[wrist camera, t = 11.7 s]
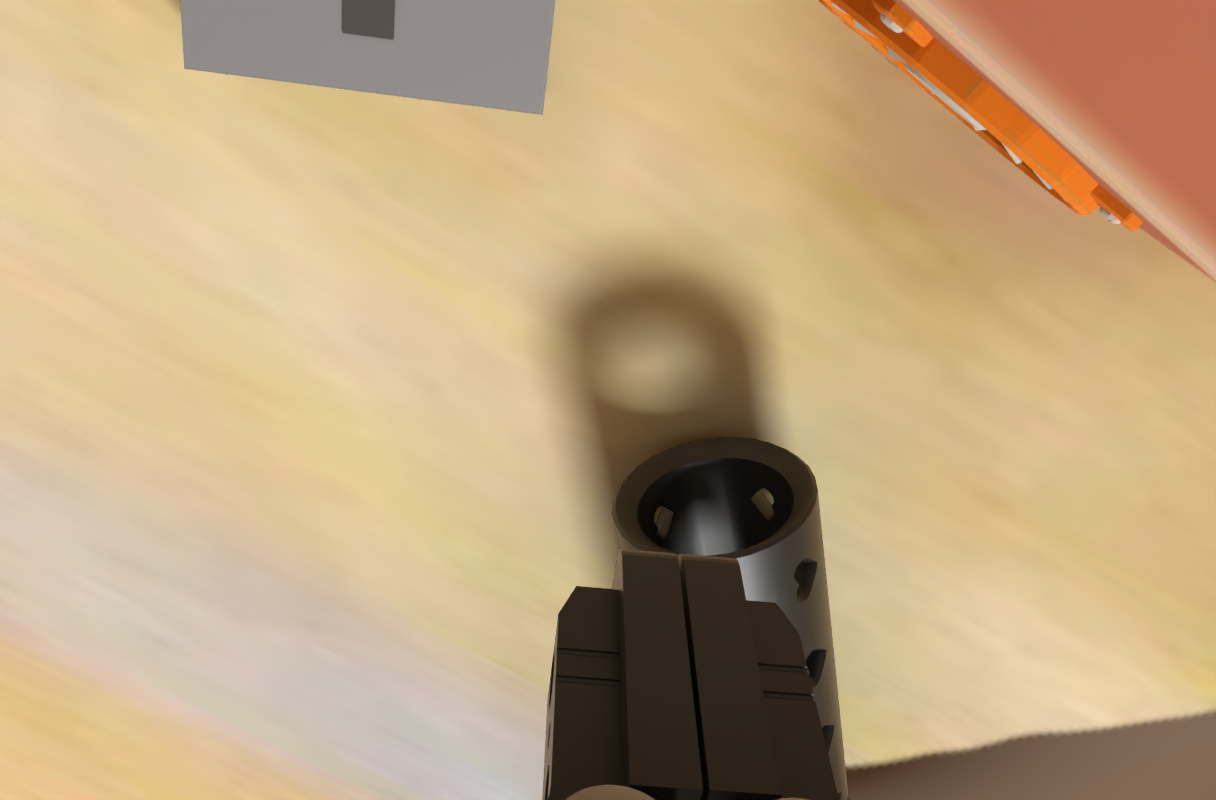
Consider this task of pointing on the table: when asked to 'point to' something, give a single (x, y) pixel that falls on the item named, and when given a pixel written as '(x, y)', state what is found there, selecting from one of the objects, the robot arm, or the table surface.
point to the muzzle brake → (745, 541)
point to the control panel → (1076, 98)
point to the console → (381, 46)
